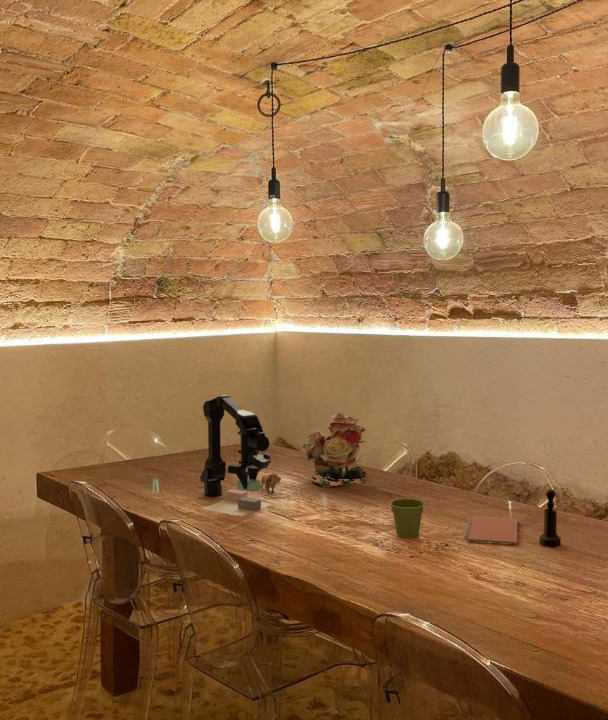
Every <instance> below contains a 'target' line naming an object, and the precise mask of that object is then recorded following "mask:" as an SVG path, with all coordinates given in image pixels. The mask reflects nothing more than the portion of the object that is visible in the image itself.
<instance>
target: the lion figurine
mask: <svg viewBox="0 0 608 720" xmlns="http://www.w3.org/2000/svg"><path fill="white" fill-rule="evenodd" d="M281 480H282V478H281V477H279V476H278V473H276V472H273V473H271V474H269V475H267V474H264V475H262V476H261V479H260V484H261V491H263V490H264V489H265V490H266V494H271V493H274V492H275V488H276V486H277V485H278V484H279V483H281ZM270 489H271V493H270Z"/></svg>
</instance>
